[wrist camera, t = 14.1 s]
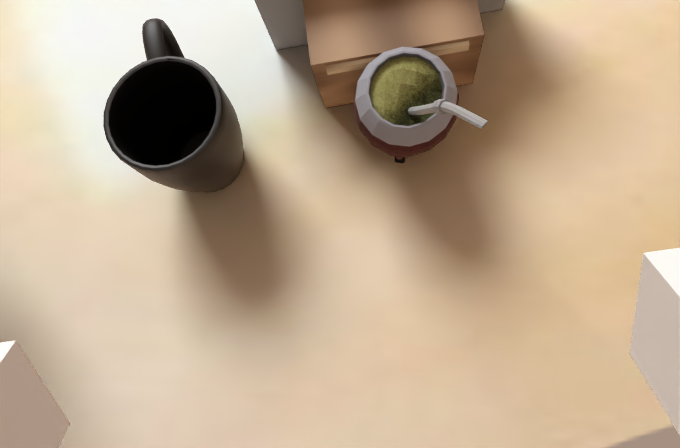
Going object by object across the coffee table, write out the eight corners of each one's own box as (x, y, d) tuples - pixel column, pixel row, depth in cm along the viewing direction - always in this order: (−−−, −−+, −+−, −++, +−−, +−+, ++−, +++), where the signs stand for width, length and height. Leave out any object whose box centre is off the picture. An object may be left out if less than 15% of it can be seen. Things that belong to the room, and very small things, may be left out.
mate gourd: (365, 75, 44) (349, -28, 29) (467, 85, 43) (504, -17, 28) (352, 168, 43) (329, 112, 28) (455, 180, 42) (487, 128, 27)
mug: (245, 63, 47) (206, -6, 38) (267, 196, 44) (230, 156, 35) (153, 85, 48) (92, 22, 39) (169, 217, 45) (107, 183, 36)
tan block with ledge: (325, 111, 45) (311, 69, 39) (316, 42, 47) (301, -10, 40) (473, 86, 44) (485, 38, 38) (459, 16, 46) (468, -41, 39)
